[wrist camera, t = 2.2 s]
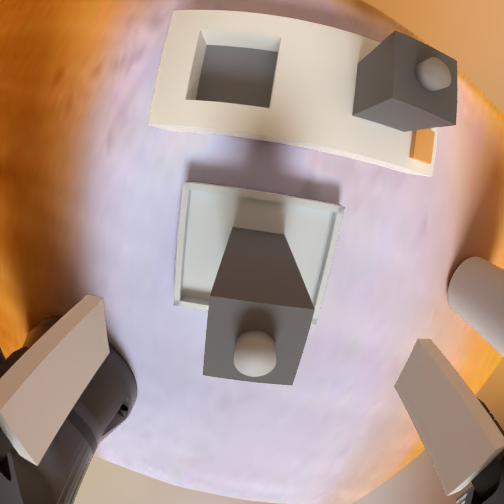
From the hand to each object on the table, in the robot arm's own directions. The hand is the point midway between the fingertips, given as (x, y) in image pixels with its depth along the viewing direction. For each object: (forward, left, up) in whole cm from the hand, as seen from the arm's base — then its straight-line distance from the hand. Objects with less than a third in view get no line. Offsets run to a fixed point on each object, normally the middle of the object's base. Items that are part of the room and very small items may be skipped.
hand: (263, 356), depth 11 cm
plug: (0, 0, -13) cm, 13 cm away
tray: (0, 0, -13) cm, 13 cm away
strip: (+9, +10, -13) cm, 19 cm away
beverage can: (+18, -13, -14) cm, 26 cm away
